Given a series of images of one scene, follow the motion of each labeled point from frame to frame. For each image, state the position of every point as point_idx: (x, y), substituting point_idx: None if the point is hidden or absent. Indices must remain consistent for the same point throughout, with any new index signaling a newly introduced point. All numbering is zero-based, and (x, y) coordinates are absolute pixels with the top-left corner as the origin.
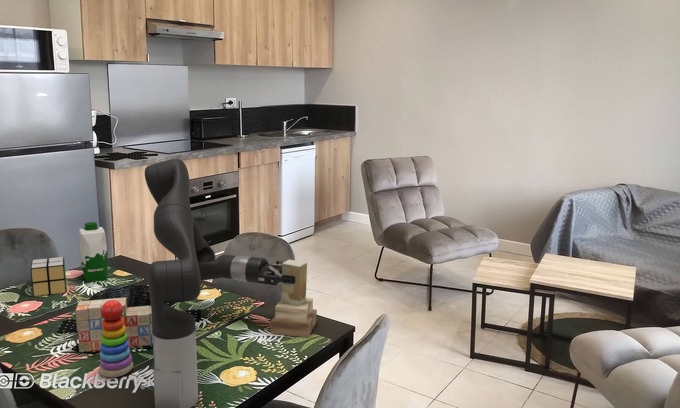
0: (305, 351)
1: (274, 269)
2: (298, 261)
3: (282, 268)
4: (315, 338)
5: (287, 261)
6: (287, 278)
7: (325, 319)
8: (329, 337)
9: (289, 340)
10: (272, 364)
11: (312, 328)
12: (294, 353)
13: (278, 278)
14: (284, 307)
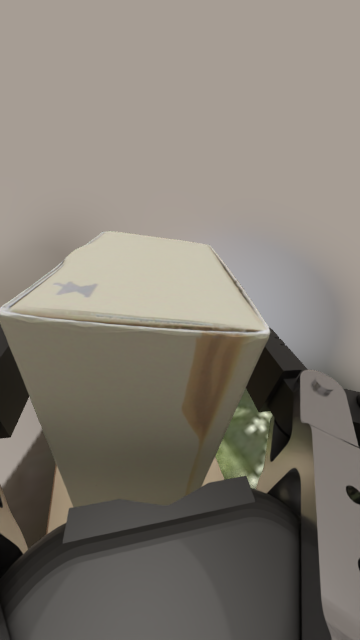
0: (241, 401)
1: (342, 537)
2: (99, 247)
3: (240, 390)
4: None
5: (156, 298)
6: (281, 343)
7: (42, 435)
8: None
9: (225, 466)
10: None
11: None
12: (265, 417)
13: (346, 391)
14: (220, 475)
